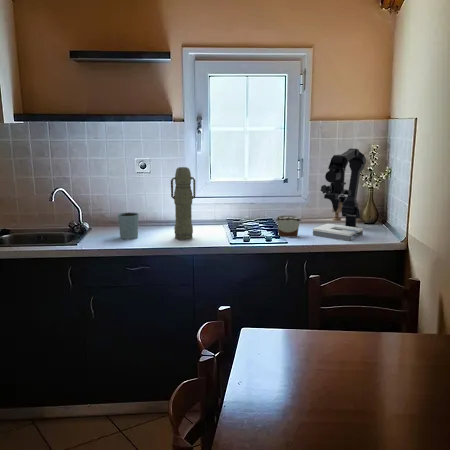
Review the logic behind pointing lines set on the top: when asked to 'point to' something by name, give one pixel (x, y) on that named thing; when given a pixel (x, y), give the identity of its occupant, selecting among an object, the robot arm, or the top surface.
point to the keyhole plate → (337, 231)
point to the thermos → (183, 203)
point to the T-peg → (337, 213)
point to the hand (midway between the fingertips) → (337, 211)
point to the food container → (288, 225)
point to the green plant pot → (128, 225)
